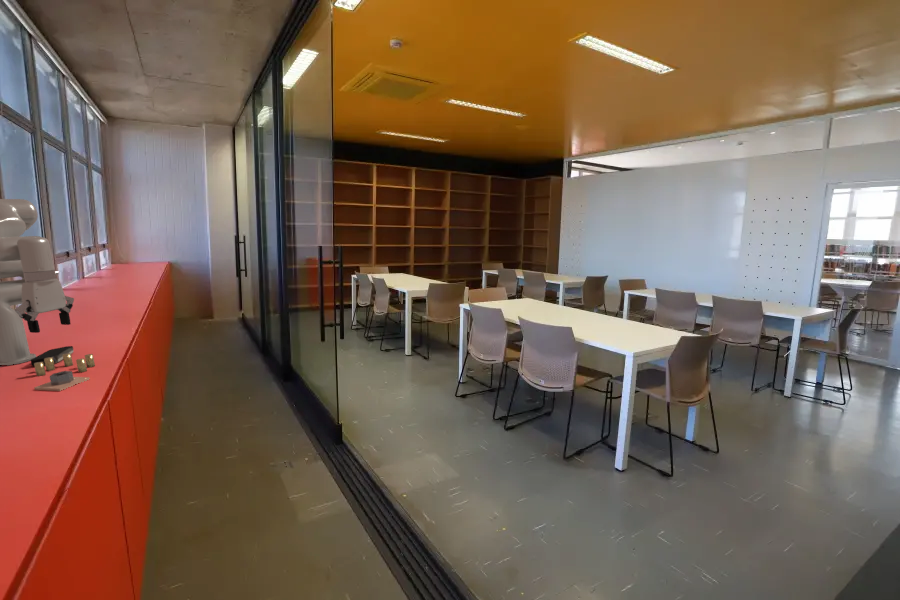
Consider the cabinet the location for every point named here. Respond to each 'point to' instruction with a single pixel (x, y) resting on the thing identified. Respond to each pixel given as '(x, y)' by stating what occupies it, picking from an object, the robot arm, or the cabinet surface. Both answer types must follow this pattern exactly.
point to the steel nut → (61, 378)
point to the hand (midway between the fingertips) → (51, 328)
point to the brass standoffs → (67, 362)
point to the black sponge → (52, 355)
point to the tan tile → (60, 387)
